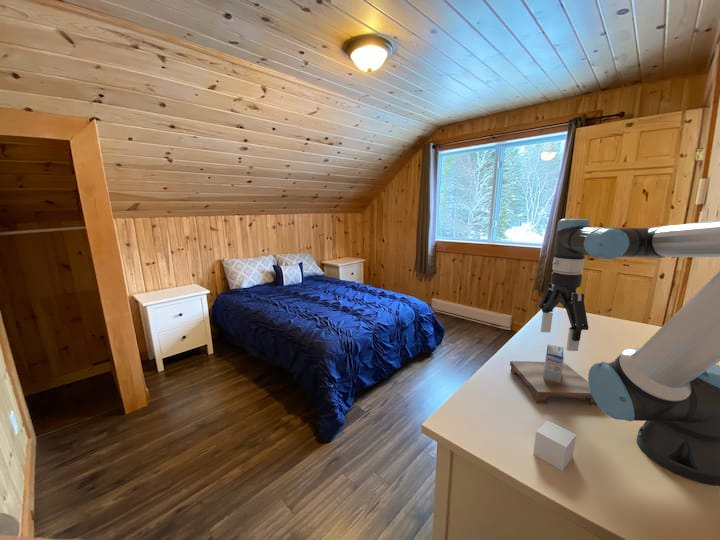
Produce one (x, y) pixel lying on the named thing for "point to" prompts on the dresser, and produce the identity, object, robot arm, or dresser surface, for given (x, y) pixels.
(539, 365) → the walnut stand
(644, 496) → the dresser surface
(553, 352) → the medicine box
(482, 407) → the dresser surface
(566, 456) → the white cube
